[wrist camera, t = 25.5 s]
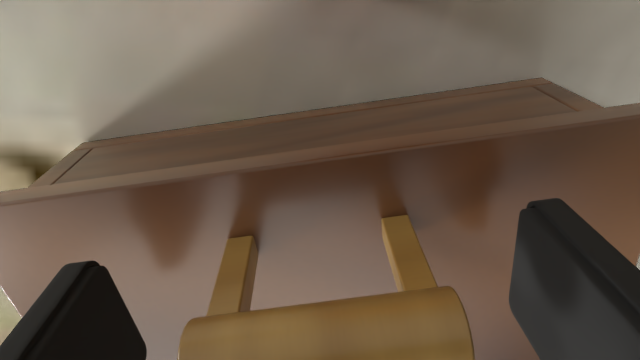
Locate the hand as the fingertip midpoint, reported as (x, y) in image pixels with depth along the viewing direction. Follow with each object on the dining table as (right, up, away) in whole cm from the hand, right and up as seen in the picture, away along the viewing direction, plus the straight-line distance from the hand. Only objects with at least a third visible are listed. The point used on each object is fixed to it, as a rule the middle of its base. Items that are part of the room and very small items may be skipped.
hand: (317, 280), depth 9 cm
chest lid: (+1, -4, +5) cm, 6 cm away
